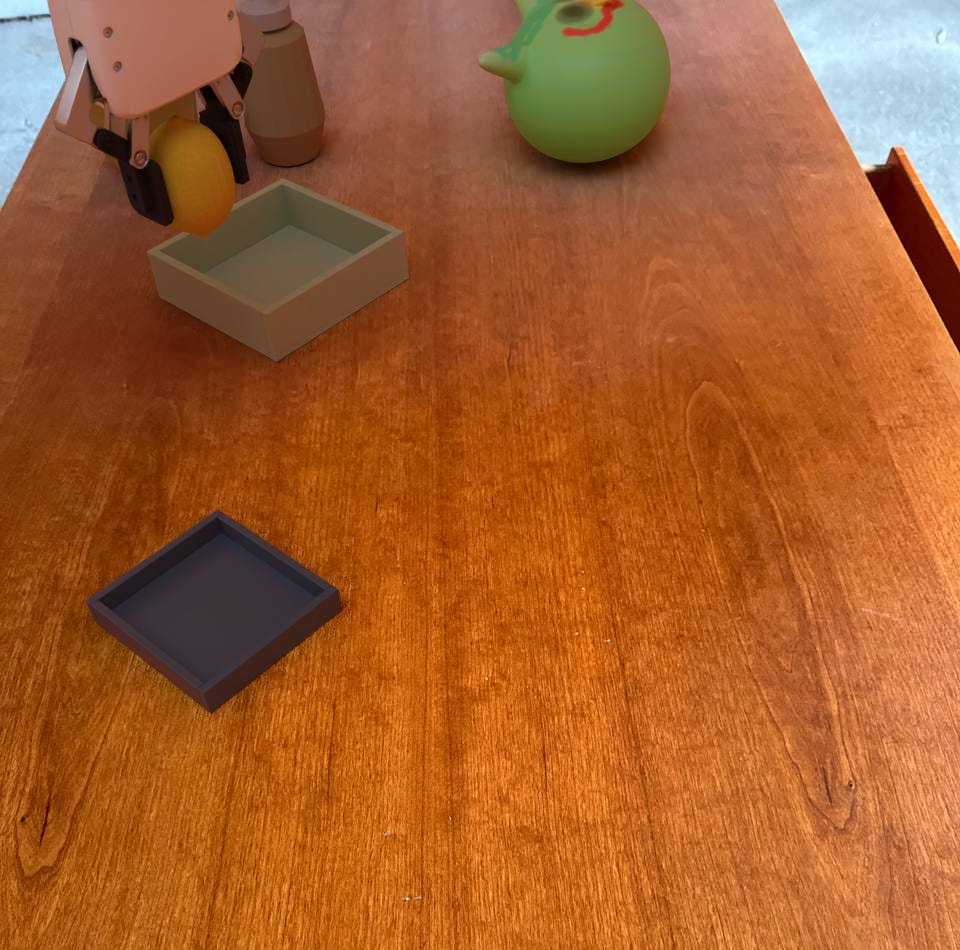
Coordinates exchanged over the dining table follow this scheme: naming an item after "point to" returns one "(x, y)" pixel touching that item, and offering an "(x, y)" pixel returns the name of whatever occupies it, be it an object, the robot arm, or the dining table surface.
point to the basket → (281, 268)
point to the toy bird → (583, 76)
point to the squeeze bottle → (282, 88)
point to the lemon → (193, 174)
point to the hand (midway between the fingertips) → (193, 195)
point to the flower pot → (153, 114)
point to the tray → (215, 608)
